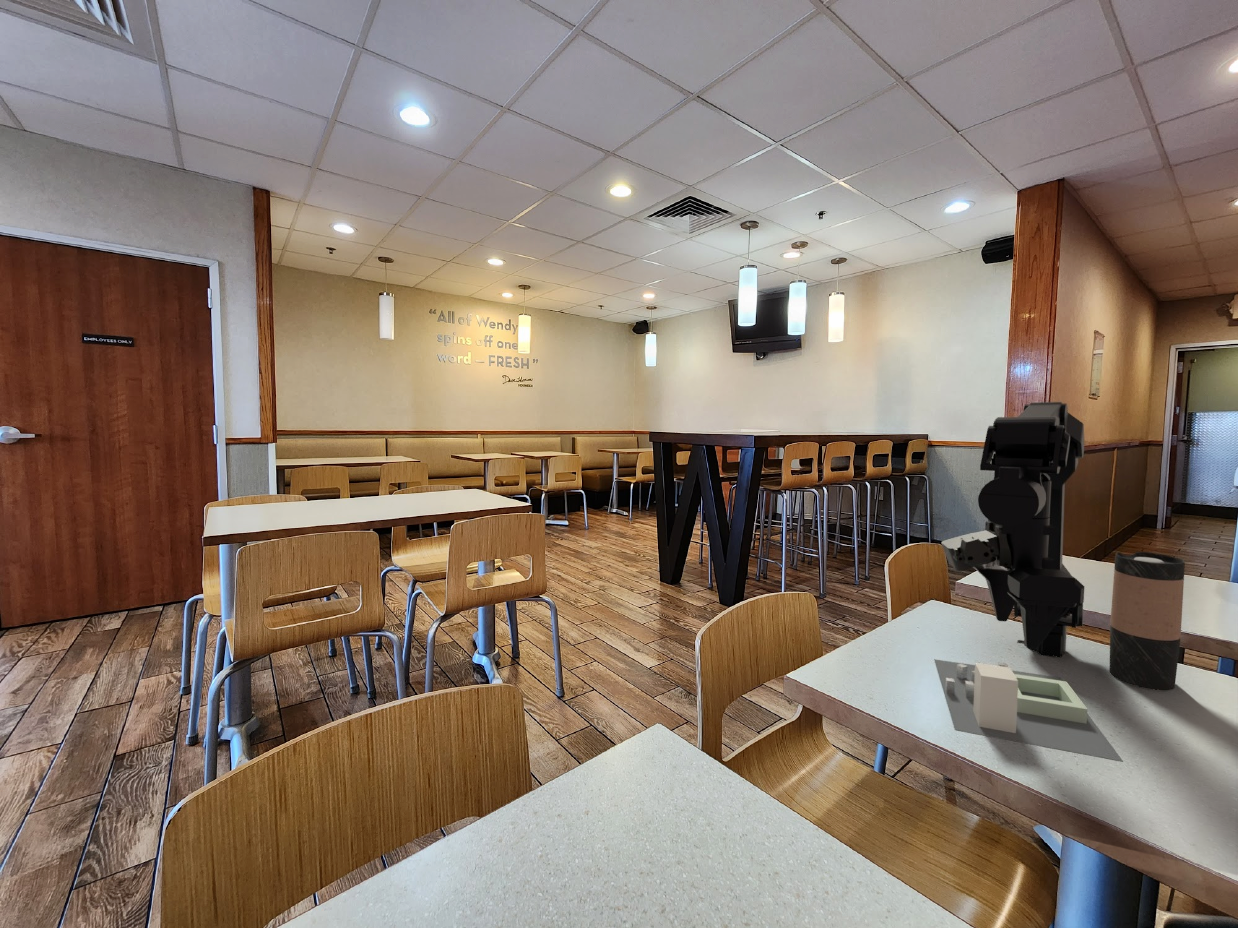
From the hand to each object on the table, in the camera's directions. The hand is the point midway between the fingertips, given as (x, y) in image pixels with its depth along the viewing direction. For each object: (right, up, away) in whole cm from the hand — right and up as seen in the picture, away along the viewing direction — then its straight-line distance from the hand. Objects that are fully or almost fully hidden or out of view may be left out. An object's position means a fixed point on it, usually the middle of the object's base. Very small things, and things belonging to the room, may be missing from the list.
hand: (1015, 633), depth 70 cm
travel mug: (+29, -12, +13) cm, 33 cm away
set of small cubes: (+3, -12, +12) cm, 17 cm away
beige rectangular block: (-1, -12, +2) cm, 13 cm away
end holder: (+8, -12, +6) cm, 16 cm away
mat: (+5, -13, +7) cm, 15 cm away
